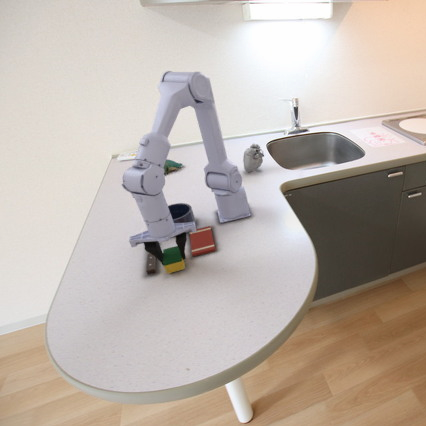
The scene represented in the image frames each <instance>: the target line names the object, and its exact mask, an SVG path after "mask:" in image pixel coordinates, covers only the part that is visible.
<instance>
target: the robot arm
mask: <svg viewBox="0 0 426 426" xmlns="http://www.w3.org/2000/svg"><path fill="white" fill-rule="evenodd" d="M210 79H211V78H210V77H208V76H207V75H205V73H203V72H201V71H171V70H167V71H164V72H163V73H162V74H161V76H160V82H159V83H158V85H157V89H158V92H159V93H160V97H159V101H158V104H157V109H156V111H155V116H154V119H153V123H152V127H151V130H150V132H148V133H146V134H144V135H142V138H140V140H139V146H138V149H137V152H136V154H135V157H134V160H133V161H132V162H133V163H132V165H131V166H130V167H128V169H126V170H125V171H124V173H123V175H122V184H121V187H122V188H123V189H124V190H125V191H126V192H128V193H130V194H131V196H132V199H134V200H135V203H136V205H137V208H138V210H139V212H140V215H141V217H142V219H143V222H144V225H145V226H146V229H147V230H145V231H142V232H140V233H137V234H134V235H130V236H129V238H128V239H129V240H128V242H129V244H130V247H131V248H137V246H138V245H143V247H144V250H145V251H146V252H147V253H148V252H149V253H150V254H152V255H153V256H155V257H156V260H158V261H159V262H160V263H161V265H162V266H164V265H163V249H162V248H161V245H160V244H163V243H166V242H168V241H169V239H171V238H173V237H175V243H176V246H178V248H179V250H180V253H181V256H182V259H183V260H184V261H185V260H186V259H187V257H186V245H187V240H188V238H187V237H188V235H187V232H188V233H190V232H192V233H193V232H197V230H196V229H197V226H195V222H189V223H174V222H173V219H172V216H171V213H170V211H169V208H168V206H169V205H168V202H167V200H166V197H165V194H164V191H163V189H164V187H165V185H166V177H165V173H164V172H165V171H164V169H163V168H164V165H165V162H166V159H167V160H168V156H169V153H170V149H171V148H172V146H171V143H170V141H169V136H170V133H171V131H172V129H173V127H174V125H175V122H176V120H177V118H178V116H179V114H180V111H181V109H185V108H187V107H191V108H193V109H194V113H195V117H196V120H197V125H198V128H199V131H200V135H201V139H202V143H203V146H204V151H205V154H206V158H207V161H208V163H207V164H206V165H205V166H204V168H203V171H204V184H205V186H206V187H207V188H209V189H210V190H211V192H212V193H213V194H214V199H215V203H216V206H217V211H216V212H217V215H218V219H219V223H220V224H223V223H228V222H232V221H236V220H240V219H243V218H248V217H250V216H251V212H250V204H249V201H248V196H247V192H246V189H245V187H244V186H242V185H243V177H242V174H241V173H240V171H239V168H238V165H237V164H235V162H233V161H232V160H230V159H229V158H228V156H227V155H228V154H227V150H226V147H225V142H224V141H225V140H224V138H223V137H224V136H223V133H222V130H221V123H220V120H219V116H218V110H217V106H216V102H215V97H214V93H213V88H212V83H211V80H210Z"/></svg>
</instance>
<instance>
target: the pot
mask: <svg viewBox="0 0 426 426" xmlns="http://www.w3.org/2000/svg"><path fill="white" fill-rule="evenodd" d="M168 208H169V211H170V213H171V216H172V219H173V222H174V223H189V222H195V226H196V225H197V221H196V217H195V214H194V210H193V208H192V206H191V205H190V204H189V203H185V202H178V203H173V204H172V203H171V204H169V205H168ZM196 227H197V226H196ZM187 233H189V232H187ZM187 233H186V234H187Z"/></svg>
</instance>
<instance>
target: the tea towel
mask: <svg viewBox="0 0 426 426" xmlns="http://www.w3.org/2000/svg"><path fill="white" fill-rule="evenodd" d="M196 230H197V232H193V233H192V232H189V239H190V249H191V256H192V257H193V258H194V257H197V256H200V255H204V254H209V253H212V252H216V246H215V241H214V236H213V231H212V227H211V225H208V226H204V227H200V228H196Z"/></svg>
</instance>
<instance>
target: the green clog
mask: <svg viewBox="0 0 426 426" xmlns="http://www.w3.org/2000/svg"><path fill="white" fill-rule="evenodd" d="M183 166H184V165H183V163H181V162H176V161H174V160H171V159H168V158H167V159H166V162H165V165H164V168H163V169H164V171H165V172H164V174H165V175H167V174H168V173H169V172H171V171H174V170H178V168H181V167H183Z"/></svg>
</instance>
